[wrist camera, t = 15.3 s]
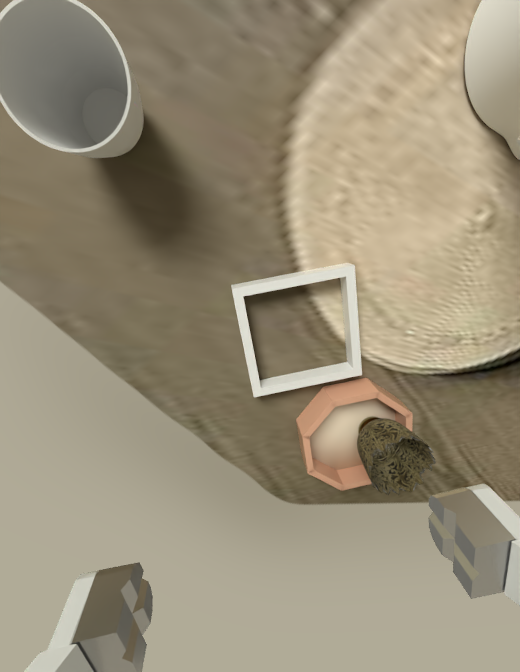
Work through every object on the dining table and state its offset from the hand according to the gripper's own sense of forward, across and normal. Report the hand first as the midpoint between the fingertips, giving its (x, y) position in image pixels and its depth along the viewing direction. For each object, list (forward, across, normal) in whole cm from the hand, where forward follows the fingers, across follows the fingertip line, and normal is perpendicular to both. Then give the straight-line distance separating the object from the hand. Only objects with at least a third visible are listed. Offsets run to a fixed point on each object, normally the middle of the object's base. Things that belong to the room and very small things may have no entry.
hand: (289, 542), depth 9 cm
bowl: (+29, -11, +20) cm, 37 cm away
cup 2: (+28, -14, +20) cm, 37 cm away
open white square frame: (+29, -6, +5) cm, 30 cm away
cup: (+29, +8, -18) cm, 35 cm away
